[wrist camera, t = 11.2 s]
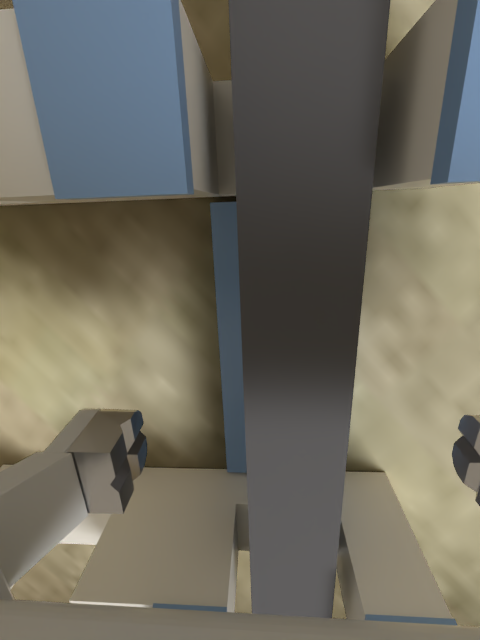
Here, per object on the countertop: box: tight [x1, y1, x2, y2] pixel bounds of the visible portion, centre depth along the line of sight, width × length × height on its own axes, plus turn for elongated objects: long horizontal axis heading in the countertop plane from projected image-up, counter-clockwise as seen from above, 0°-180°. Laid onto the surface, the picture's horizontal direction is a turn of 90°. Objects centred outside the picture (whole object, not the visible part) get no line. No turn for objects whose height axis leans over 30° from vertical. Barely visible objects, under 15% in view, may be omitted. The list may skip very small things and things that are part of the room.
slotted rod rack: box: [0, 0, 480, 626], centre depth 11 cm, size 19×20×7 cm
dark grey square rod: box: [229, 0, 390, 618], centre depth 11 cm, size 22×3×3 cm, turn 2°
